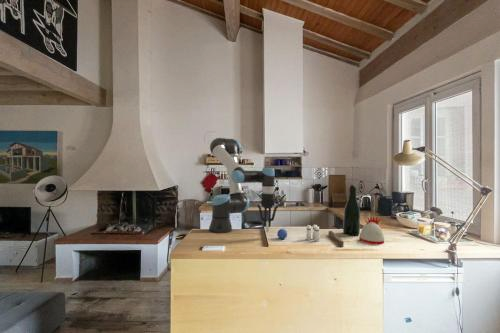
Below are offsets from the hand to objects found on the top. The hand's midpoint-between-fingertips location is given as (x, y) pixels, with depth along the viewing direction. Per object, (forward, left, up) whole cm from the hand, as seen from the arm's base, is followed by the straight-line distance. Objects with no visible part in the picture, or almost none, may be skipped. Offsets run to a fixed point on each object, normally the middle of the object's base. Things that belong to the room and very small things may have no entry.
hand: (267, 231), depth 167 cm
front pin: (+18, +18, -4) cm, 26 cm away
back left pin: (+19, +23, -4) cm, 30 cm away
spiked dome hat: (+43, +48, -4) cm, 65 cm away
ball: (+6, +7, -1) cm, 9 cm away
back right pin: (+22, +19, -4) cm, 30 cm away
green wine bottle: (+27, +54, -4) cm, 60 cm away
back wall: (+29, +30, -4) cm, 42 cm away
